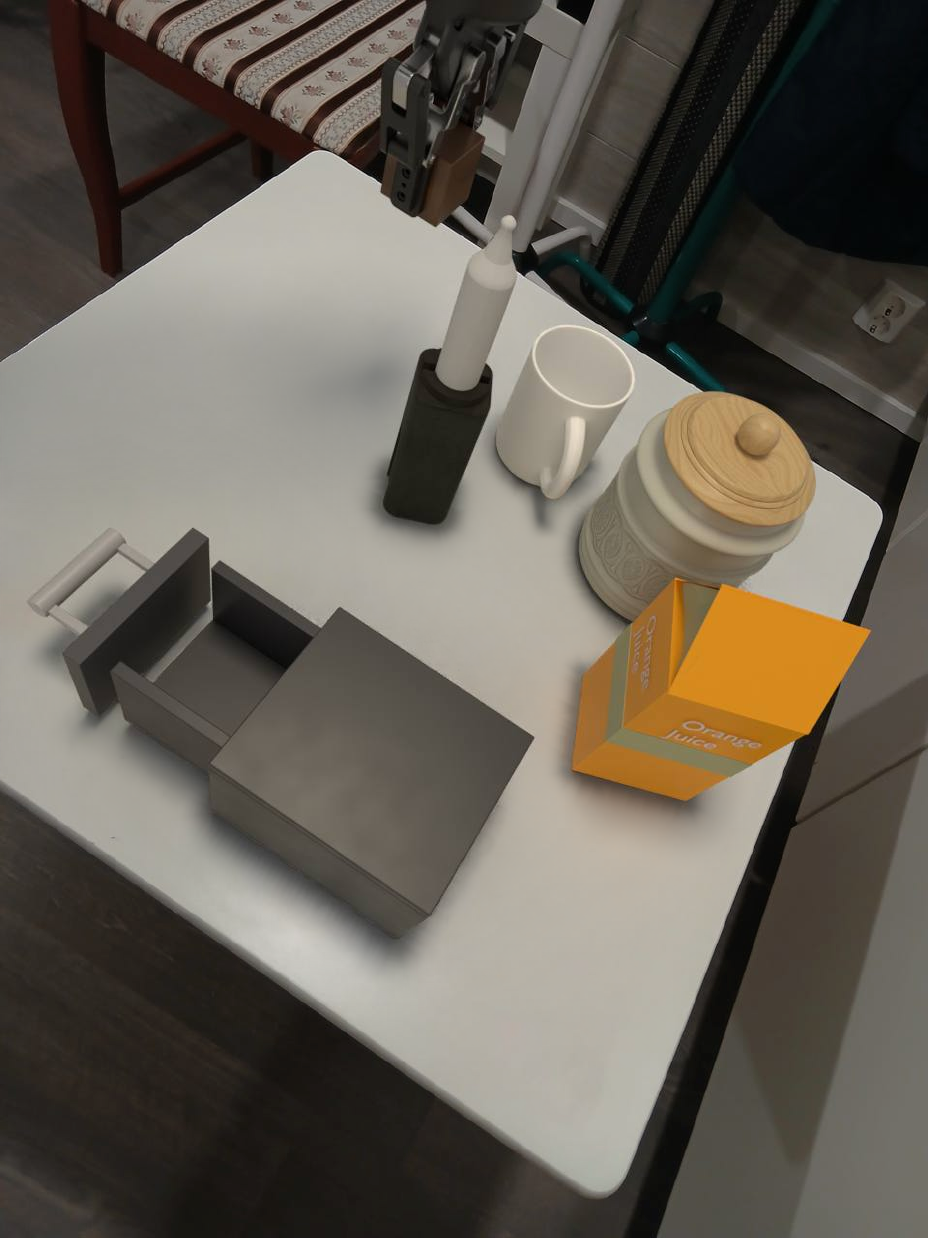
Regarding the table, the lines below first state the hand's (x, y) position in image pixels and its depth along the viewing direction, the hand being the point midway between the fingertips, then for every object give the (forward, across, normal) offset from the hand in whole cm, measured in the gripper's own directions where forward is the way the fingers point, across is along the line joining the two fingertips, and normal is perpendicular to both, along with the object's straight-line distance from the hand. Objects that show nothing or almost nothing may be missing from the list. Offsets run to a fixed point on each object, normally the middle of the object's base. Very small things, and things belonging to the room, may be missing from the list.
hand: (425, 191), depth 55 cm
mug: (+17, 0, +16) cm, 23 cm away
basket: (+16, +32, +6) cm, 36 cm away
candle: (+17, +9, +9) cm, 21 cm away
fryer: (+17, +32, +19) cm, 41 cm away
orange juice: (+17, +17, +33) cm, 41 cm away
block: (0, 0, 0) cm, 0 cm away
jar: (+17, +2, +28) cm, 33 cm away
